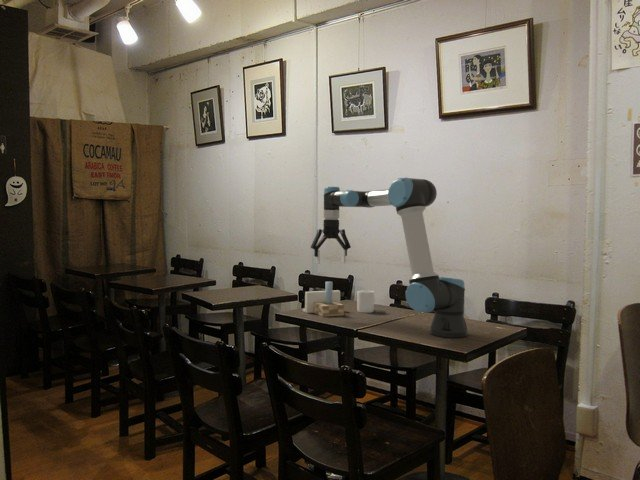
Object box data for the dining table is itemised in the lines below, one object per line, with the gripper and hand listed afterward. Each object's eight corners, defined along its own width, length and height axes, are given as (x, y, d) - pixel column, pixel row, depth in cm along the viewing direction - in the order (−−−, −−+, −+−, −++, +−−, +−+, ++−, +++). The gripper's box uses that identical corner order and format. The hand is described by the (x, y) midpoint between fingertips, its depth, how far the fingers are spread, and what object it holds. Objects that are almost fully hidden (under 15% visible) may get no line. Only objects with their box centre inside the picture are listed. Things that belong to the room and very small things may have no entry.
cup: (353, 311, 264) (354, 291, 263) (366, 308, 273) (367, 288, 273) (367, 313, 259) (368, 293, 258) (380, 310, 268) (381, 290, 268)
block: (343, 315, 253) (343, 304, 253) (322, 316, 249) (323, 306, 249) (333, 311, 263) (334, 301, 263) (313, 312, 259) (313, 302, 259)
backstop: (339, 310, 265) (340, 290, 264) (306, 312, 258) (307, 292, 257) (335, 309, 270) (335, 289, 269) (302, 311, 262) (303, 291, 262)
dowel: (333, 311, 255) (333, 282, 254) (326, 311, 254) (327, 282, 253) (330, 309, 258) (330, 281, 258) (323, 310, 257) (324, 281, 256)
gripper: (350, 219, 262) (350, 262, 263) (304, 218, 252) (303, 263, 253) (358, 219, 255) (357, 263, 256) (310, 218, 245) (309, 264, 246)
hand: (330, 263), depth 255 cm, fingers open, 13 cm apart
